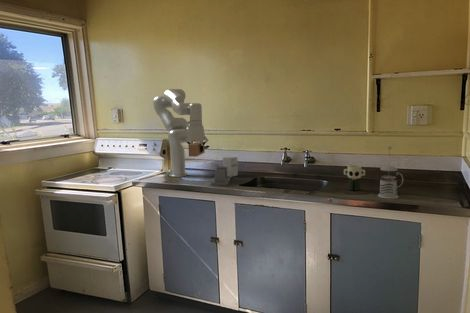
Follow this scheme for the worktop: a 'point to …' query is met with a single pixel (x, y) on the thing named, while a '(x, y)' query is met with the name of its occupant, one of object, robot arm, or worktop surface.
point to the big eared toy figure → (354, 176)
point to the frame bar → (195, 149)
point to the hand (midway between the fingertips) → (196, 151)
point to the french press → (386, 180)
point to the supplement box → (231, 165)
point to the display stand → (221, 176)
